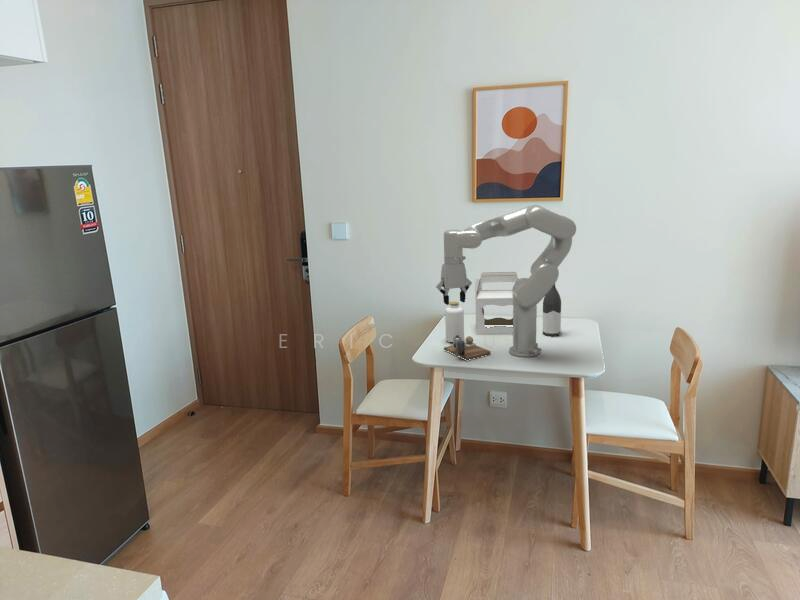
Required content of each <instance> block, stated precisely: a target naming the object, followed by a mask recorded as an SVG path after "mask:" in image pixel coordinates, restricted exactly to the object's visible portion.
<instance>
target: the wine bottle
mask: <svg viewBox="0 0 800 600" xmlns="http://www.w3.org/2000/svg"><path fill="white" fill-rule="evenodd" d="M561 324H562V299H561V295H560V293H559V291H558V289H557V288H556V283H555V284H554V285H553V287H552V288H551V289H550V290H549V291H548V293H547V294H546V295H545V296H544V297H543V299H542V335H543V336H545V337H549V336H551V338H552V337H553V338H554V337H560V335H561V329H562V327H561V326H562V325H561Z"/></svg>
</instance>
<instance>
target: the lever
mask: <svg viewBox="0 0 800 600" xmlns="http://www.w3.org/2000/svg"><path fill="white" fill-rule="evenodd" d="M465 342H466V341H465V340H463V341H462V337H458V338H456V337H453V343H452V344H453V345H455V346H456V347H457V354H458V355H464V354H465Z"/></svg>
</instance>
